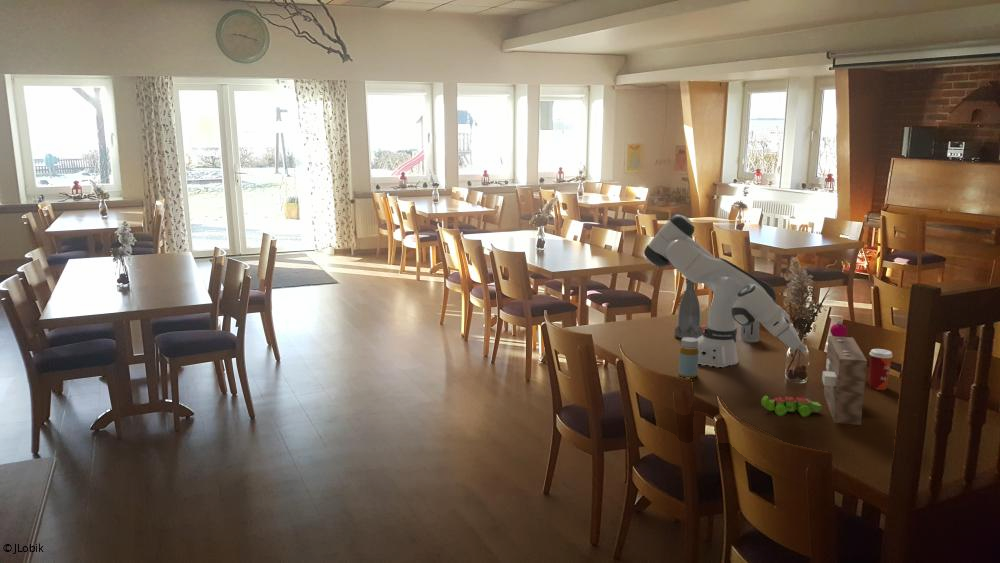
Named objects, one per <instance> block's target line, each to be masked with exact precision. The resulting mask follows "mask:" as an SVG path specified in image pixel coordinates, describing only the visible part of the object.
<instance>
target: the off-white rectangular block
mask: <svg viewBox="0 0 1000 563" xmlns="http://www.w3.org/2000/svg"><path fill="white" fill-rule="evenodd" d="M836 378H837V376H836V374H835V372H829V371H826V370H823V371H822V376H821V381H822V384H823V386H824V385H826V386H836Z"/></svg>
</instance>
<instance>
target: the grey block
mask: <svg viewBox="0 0 1000 563" xmlns="http://www.w3.org/2000/svg"><path fill="white" fill-rule="evenodd" d="M826 360H827V363H826V364H825V369H826V368H827V371H829V372H830V360H829V359H826Z"/></svg>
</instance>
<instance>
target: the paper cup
mask: <svg viewBox="0 0 1000 563" xmlns="http://www.w3.org/2000/svg"><path fill="white" fill-rule="evenodd" d="M892 358H893V352H892V351H891V350H888V349H884V348H883V349H882V348H873V349H871V350H870V352H869V380H868V381H869V386H868V387H869V388H870V389H873V390H876V391H885V390H887V386H888V382H889V375H890V369H891V363H892Z"/></svg>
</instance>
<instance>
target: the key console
mask: <svg viewBox="0 0 1000 563" xmlns="http://www.w3.org/2000/svg"><path fill="white" fill-rule="evenodd" d="M826 357H827V359H829V360H830V372H835V374H836V376H837V378H836V386H826V385H824V384H823V386H824V387H823V396H824V398H825V402H826V401H827V402H826V404H828V405H827V407H828V410H829V412H831V413H830V415H831V418H832V420H833V423H837V424H847V425H855V426H856V425H861V424H862V419H863V418H862V417H863V407H864V397H865V395H864V394H865V386H866V374H867V366H868V365H867V364H868V360H867V358H866V356H865V355H864V353H863V351H862V350H861V348H860V347H859V344H858V343H857V342H856V339H855V338H854V337H852V336H851V337H850V336H849V337H848V336H844V337H836V336H832V335H828V339H827V350H826ZM827 359H825V360H826V363H827ZM825 371H827V368H826V367H825Z"/></svg>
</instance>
